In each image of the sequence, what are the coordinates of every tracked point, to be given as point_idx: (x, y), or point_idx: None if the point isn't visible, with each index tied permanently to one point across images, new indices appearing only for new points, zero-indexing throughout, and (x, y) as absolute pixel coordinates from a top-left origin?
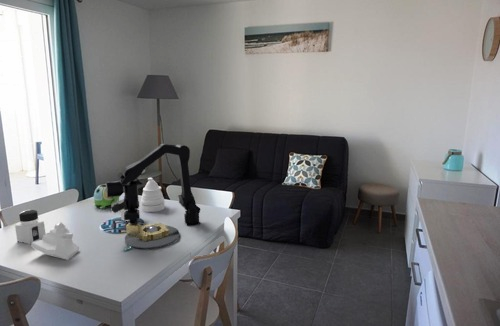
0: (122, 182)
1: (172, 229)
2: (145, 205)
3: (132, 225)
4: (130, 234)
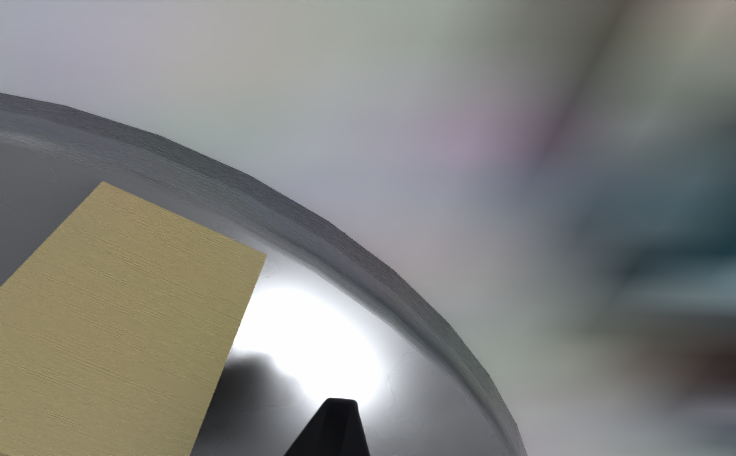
0: None
1: None
2: None
3: None
4: None
